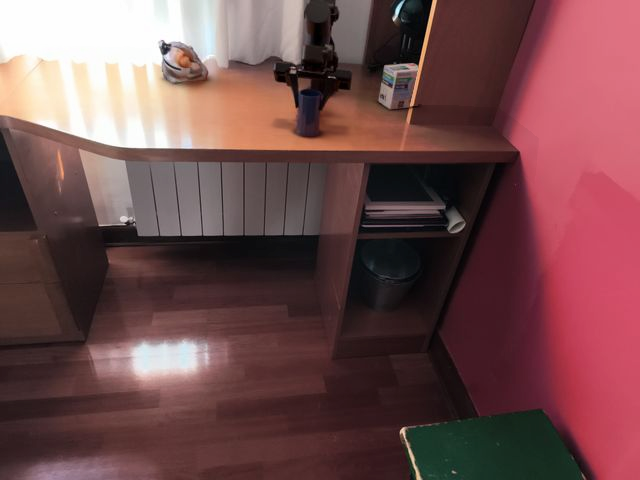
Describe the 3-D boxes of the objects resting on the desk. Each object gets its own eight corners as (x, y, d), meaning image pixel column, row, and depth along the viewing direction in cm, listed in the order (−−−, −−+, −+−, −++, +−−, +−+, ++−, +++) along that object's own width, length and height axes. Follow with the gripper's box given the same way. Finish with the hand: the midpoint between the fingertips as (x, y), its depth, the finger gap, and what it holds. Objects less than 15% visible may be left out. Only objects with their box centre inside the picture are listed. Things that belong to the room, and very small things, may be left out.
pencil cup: (308, 126, 117) (310, 87, 111) (323, 133, 114) (326, 94, 108) (291, 130, 114) (293, 91, 108) (306, 139, 111) (309, 98, 105)
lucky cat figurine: (217, 77, 141) (214, 41, 128) (193, 101, 136) (187, 66, 123) (178, 54, 142) (171, 16, 130) (152, 77, 138) (142, 40, 125)
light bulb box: (390, 110, 131) (396, 72, 124) (377, 101, 135) (383, 64, 129) (419, 106, 135) (427, 69, 129) (406, 98, 140) (413, 62, 133)
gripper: (275, 24, 103) (265, 88, 101) (357, 33, 103) (349, 98, 101) (280, 51, 114) (271, 109, 112) (354, 59, 114) (346, 118, 112)
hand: (308, 108), depth 109 cm, fingers closed on pencil cup, 6 cm apart
